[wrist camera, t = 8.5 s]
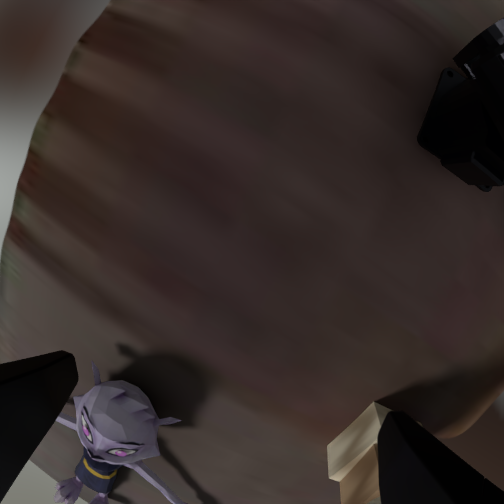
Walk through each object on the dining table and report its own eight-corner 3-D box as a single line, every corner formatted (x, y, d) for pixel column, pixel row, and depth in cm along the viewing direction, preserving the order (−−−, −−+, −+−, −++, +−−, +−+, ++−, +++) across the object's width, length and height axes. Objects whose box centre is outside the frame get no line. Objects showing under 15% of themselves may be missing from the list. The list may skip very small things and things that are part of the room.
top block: (373, 443, 18) (382, 485, 14) (425, 451, 17) (438, 487, 13) (339, 481, 19) (342, 519, 15) (389, 487, 18) (396, 522, 15)
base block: (373, 400, 21) (382, 434, 17) (420, 422, 21) (433, 452, 17) (327, 444, 23) (328, 478, 19) (375, 462, 23) (381, 492, 19)
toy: (1, 456, 25) (-41, 322, 14) (33, 421, 34) (34, 278, 23) (157, 559, 25) (271, 536, 14) (177, 515, 33) (289, 443, 23)
